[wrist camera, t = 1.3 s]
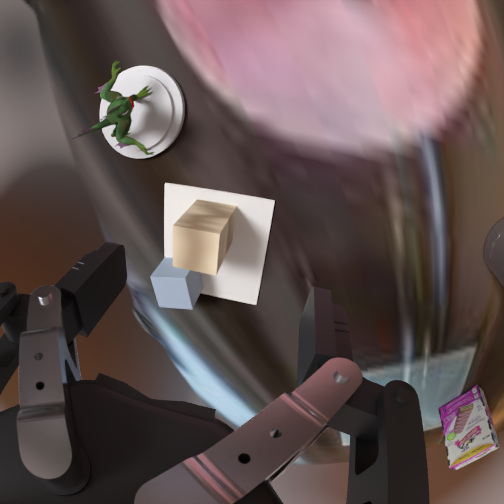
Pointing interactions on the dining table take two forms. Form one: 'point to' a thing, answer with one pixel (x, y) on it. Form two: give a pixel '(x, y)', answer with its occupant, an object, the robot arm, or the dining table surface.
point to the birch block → (203, 236)
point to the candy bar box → (468, 428)
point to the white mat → (243, 243)
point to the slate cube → (176, 285)
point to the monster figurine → (140, 111)
